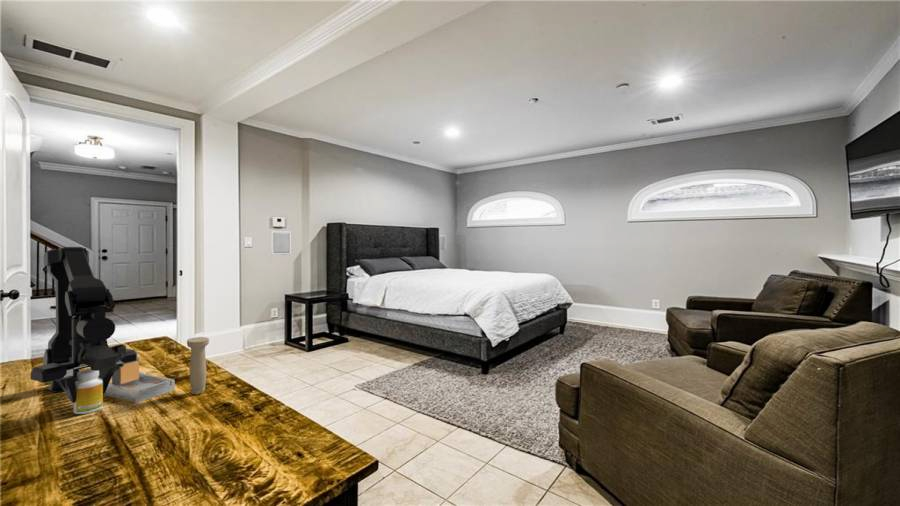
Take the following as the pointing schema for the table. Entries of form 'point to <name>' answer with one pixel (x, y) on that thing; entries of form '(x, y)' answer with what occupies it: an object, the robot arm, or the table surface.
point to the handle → (197, 364)
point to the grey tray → (137, 384)
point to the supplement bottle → (88, 392)
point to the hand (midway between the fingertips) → (88, 398)
